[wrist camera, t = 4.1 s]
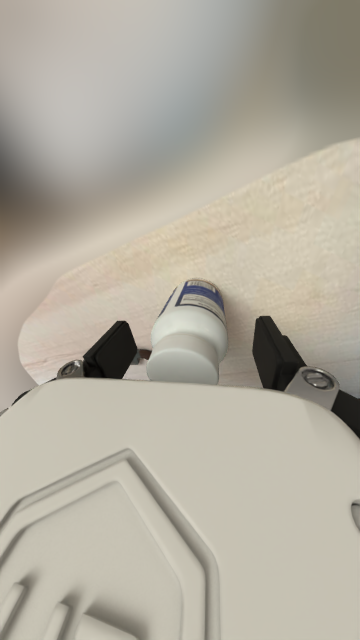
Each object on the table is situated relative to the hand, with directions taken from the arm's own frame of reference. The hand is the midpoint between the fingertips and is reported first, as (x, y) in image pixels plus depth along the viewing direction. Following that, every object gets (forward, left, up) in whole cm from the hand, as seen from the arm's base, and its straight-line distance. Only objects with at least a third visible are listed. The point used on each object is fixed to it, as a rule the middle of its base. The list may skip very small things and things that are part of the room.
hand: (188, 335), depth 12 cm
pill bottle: (0, 0, -6) cm, 6 cm away
